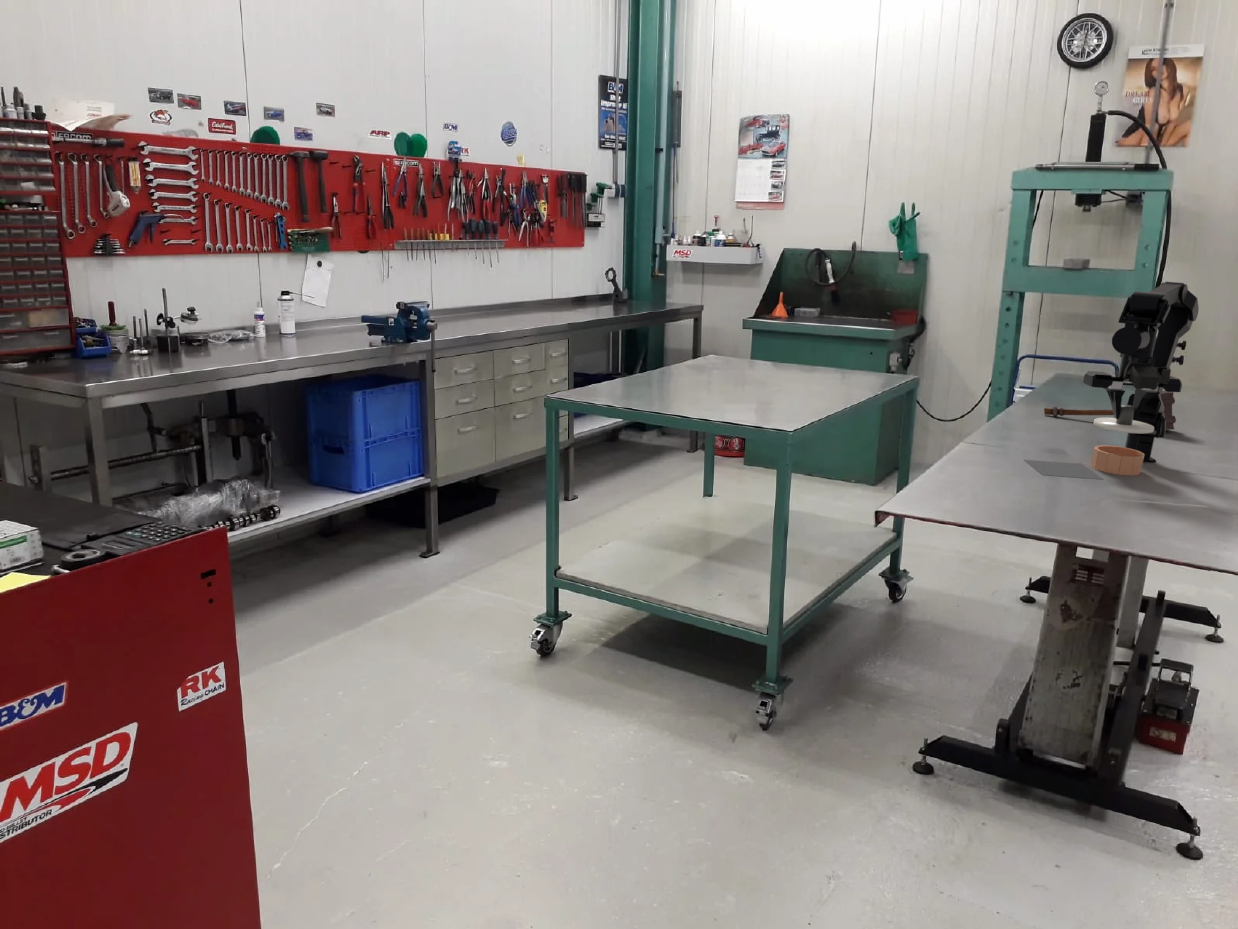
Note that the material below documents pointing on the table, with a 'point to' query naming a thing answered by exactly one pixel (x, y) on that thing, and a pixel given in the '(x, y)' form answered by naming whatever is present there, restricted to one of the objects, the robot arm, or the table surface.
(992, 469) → the table surface
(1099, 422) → the lid
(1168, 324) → the robot arm
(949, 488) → the table surface
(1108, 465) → the bowl
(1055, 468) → the mat
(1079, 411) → the hammer
